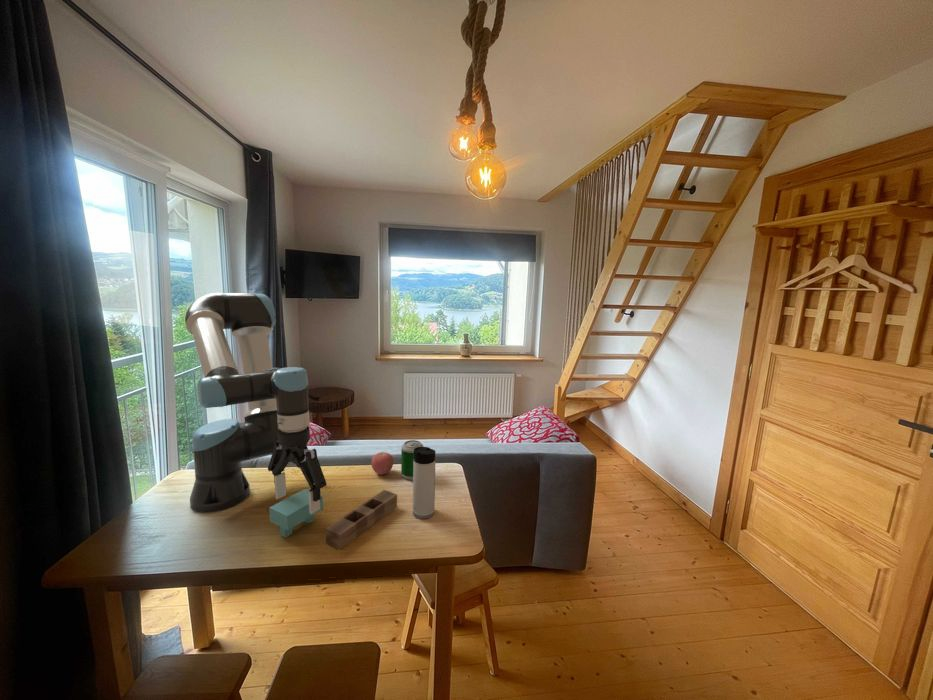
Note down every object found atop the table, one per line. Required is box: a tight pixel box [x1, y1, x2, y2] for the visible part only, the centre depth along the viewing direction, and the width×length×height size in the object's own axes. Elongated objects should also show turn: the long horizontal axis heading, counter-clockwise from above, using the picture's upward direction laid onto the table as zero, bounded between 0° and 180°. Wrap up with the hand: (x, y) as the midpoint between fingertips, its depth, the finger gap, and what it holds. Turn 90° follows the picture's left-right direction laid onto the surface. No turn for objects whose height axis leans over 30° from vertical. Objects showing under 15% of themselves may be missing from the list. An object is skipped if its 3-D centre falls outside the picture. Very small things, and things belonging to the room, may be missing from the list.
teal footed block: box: [269, 488, 324, 538], centre depth 101 cm, size 7×11×8 cm, turn 151°
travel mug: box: [412, 446, 436, 520], centre depth 108 cm, size 6×7×20 cm
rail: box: [325, 489, 398, 551], centre depth 104 cm, size 5×22×4 cm, turn 151°
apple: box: [371, 451, 395, 476], centre depth 132 cm, size 7×7×8 cm
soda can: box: [400, 439, 425, 481], centre depth 130 cm, size 8×8×12 cm
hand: (297, 503), depth 100 cm, fingers open, 13 cm apart
